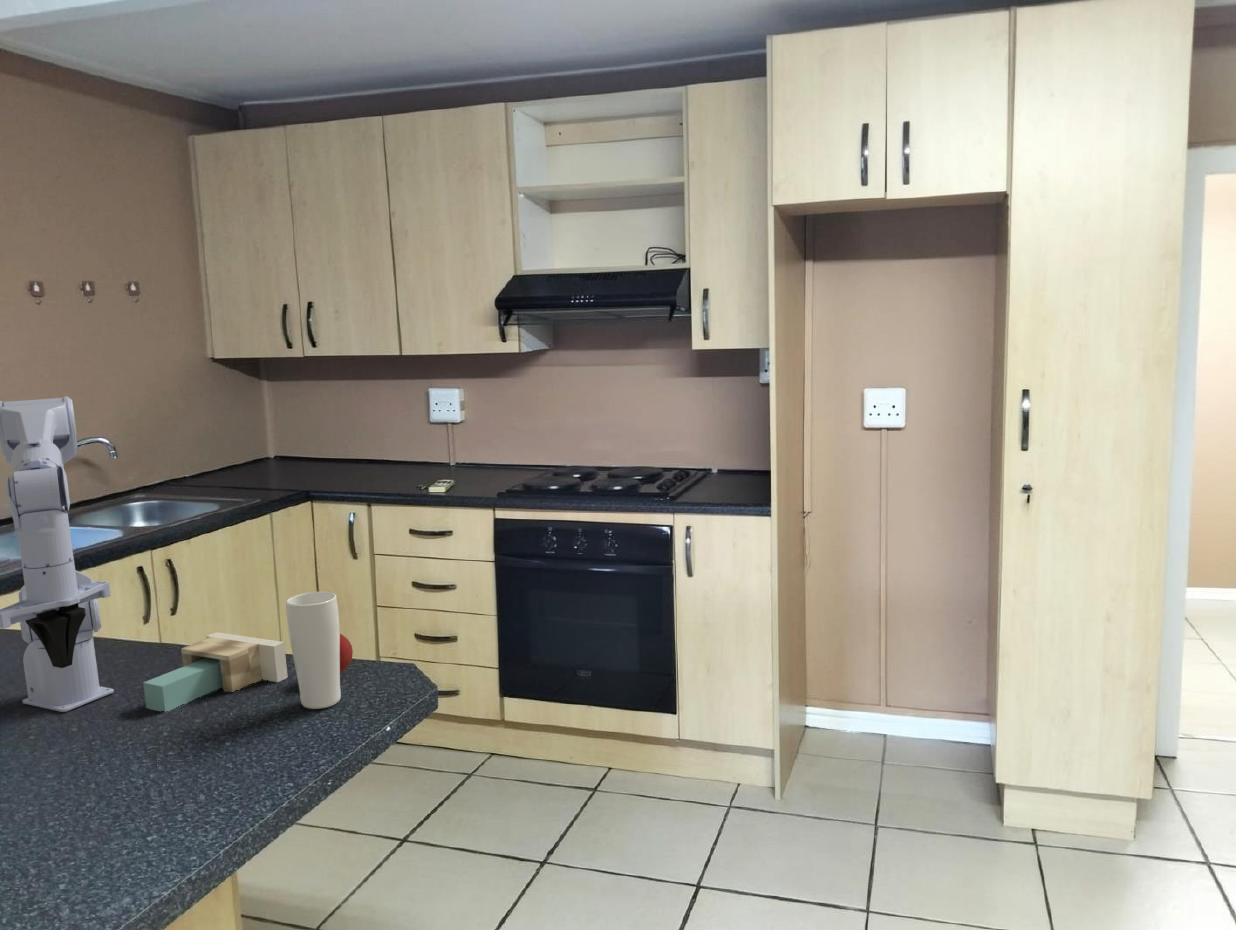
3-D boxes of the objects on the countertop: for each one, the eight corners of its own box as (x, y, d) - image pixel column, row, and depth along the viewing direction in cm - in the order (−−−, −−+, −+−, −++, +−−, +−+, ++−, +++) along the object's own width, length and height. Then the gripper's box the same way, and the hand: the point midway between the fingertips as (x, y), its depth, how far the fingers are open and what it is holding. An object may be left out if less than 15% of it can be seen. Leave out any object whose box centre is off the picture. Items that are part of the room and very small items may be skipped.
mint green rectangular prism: (146, 709, 138) (143, 682, 138) (216, 680, 149) (214, 654, 148) (165, 714, 137) (162, 686, 136) (235, 683, 147) (232, 657, 146)
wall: (210, 670, 152) (206, 636, 151) (220, 666, 154) (216, 632, 153) (277, 682, 146) (273, 646, 145) (287, 677, 148) (284, 642, 147)
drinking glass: (308, 717, 133) (297, 608, 130) (287, 703, 138) (277, 599, 135) (355, 702, 137) (345, 597, 135) (333, 689, 142) (323, 588, 140)
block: (185, 684, 147) (181, 648, 146) (215, 671, 152) (211, 636, 151) (232, 693, 142) (228, 656, 142) (262, 679, 147) (258, 644, 146)
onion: (343, 686, 143) (338, 633, 142) (306, 685, 144) (301, 632, 143) (361, 671, 149) (356, 620, 147) (325, 670, 150) (320, 619, 149)
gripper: (11, 580, 117) (27, 689, 119) (120, 551, 130) (132, 650, 132) (-25, 575, 120) (-9, 682, 123) (85, 547, 133) (98, 644, 135)
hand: (62, 665), depth 128 cm, fingers closed
